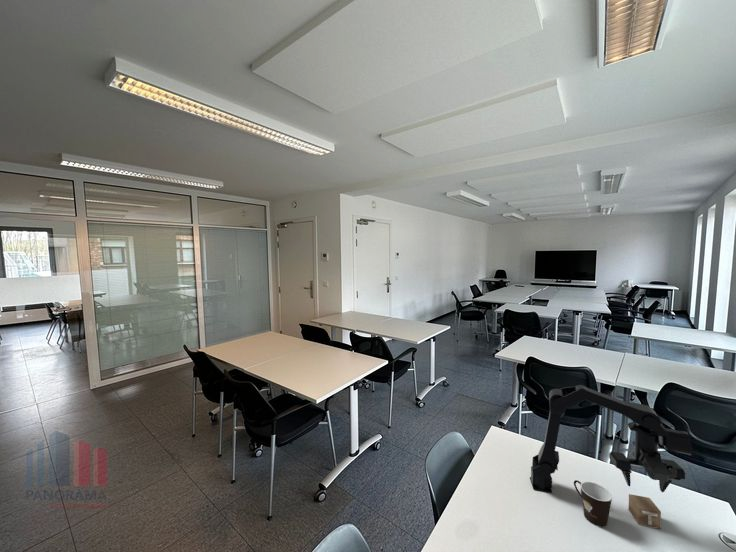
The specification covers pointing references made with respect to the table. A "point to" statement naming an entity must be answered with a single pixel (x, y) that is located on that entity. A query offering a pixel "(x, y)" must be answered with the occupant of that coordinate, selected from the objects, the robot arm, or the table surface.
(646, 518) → the walnut letter cube
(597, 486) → the coffee mug
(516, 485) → the table surface
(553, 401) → the robot arm
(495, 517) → the table surface
